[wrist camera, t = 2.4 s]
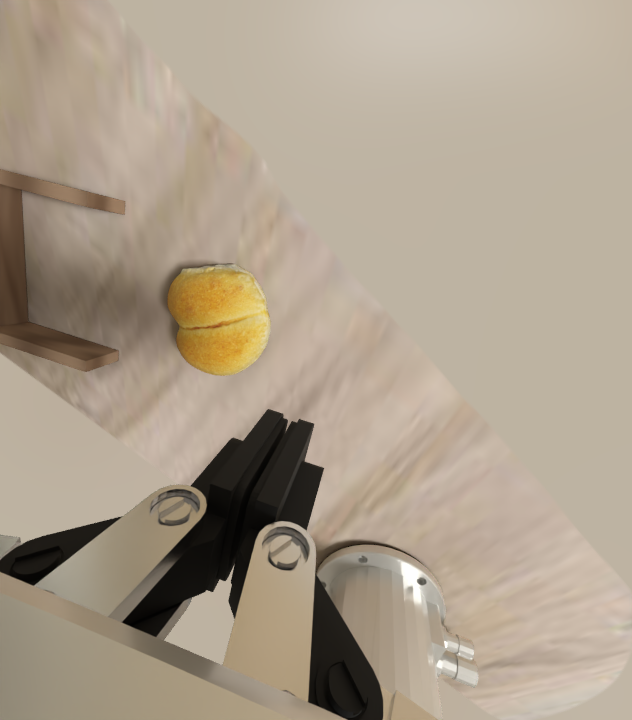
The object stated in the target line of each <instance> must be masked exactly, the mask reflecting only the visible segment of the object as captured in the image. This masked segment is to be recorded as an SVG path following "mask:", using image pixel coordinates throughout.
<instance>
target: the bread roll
mask: <svg viewBox="0 0 632 720" xmlns="http://www.w3.org/2000/svg"><path fill="white" fill-rule="evenodd" d="M168 308H169V310H170V312H171V314H172V316H173V317H174V319H175V320H176V321H177V323H178V324H179V326H180V327H179V331H178V334H177V338H176V342H177V347H178V349H179V351H180V353H181V355H182V356H183V357H184V359H185V360H186V361H187V362H188V363H189V364H190V365H192V366H193V367H195V368H197V369H199V370H201V371H203V372H206V373H209V374H213V375H220V376H225V375H234V374H236V373H239V372H241V371H243V370H244V369H246V368H247V367H249V366H250V365H251V364H253V363H254V362H255V361H256V360H257V359H258V358H259V356H260V355H261V354H262V352H263V350H264V349H265V347H266V345H267V342H268V339H269V334H270V329H271V328H270V326H271V321H270V317H269V313H268V311H267V301H266V297H265V295H264V292H263V290H262V288H261V286H260V285H259V283H258V282H257V280H256V279H255V278H254V276H253V275H252V274H251V273H250V272H248V271H246V270H245V269H243V268H241V267H238V266H237V265H235V264H232V265H231V264H228V265H214V266H209V265H207V266H203V267H200V268H189V269H182V271H181V273H180V274H179V275H178V276H177V277H176V278H175V280H174V281H173V282H172V284H171V286H170V289H169V292H168Z"/></svg>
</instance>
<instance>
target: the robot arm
mask: <svg viewBox="0 0 632 720" xmlns="http://www.w3.org/2000/svg"><path fill="white" fill-rule="evenodd" d="M287 423H288V420H287V419H284V418H283V414H282V413H279V412H276V411H273V410H269V409H268V410H267V411H266V412H265V414H264V415H263V416H262V417H261V419H260V420H259V421H258V423H257V424H256V425H255V426H254V428H253V429H252V430H251V432H250V433H249V434H248V435H247V437H246V438H245V439H244V441H241V440H238V439H236V438H232V439H231V440H229V442H228V443H227V444H226V445H225V446H224V447H223V449H222V450H221V451H220V452H219V453H218V454H217V456H216V457H215V458H214V459H213V460H212V462H211V463H210V464H209V465H208V466H207V467H206V469H205V470H204V471H203V472H202V473H201V474H200V476H199V477H198V478H197V479H196V480H195V481H194V483H193V484H192V485H191V486H188V485H170V486H167V487H164V488H161V489H159V490H157V491H156V492H154V493H152V494H151V495H150V496H149V497H147V498H146V499H144V500H143V501H142V502H141V503H140V504H138V505H137V506H136V507H134V508H133V509H132V510H130V511H129V512H128V513H127V514H125V515H124V516H122V517H118V518H114V519H110V520H106V521H102V522H98V523H94V524H90V525H86V526H82V527H78V528H74V529H70V530H66V531H62V532H58V533H54V534H50V535H46V536H42V537H39V538H36V539H33V540H30V541H27V542H25V543H21V541H20V537H13V536H4V535H0V720H443V716H442V708H441V701H440V693H439V686H438V678H437V677H439V676H440V674H443V675H446V676H448V677H451V678H452V679H453V680H456V681H458V682H461V683H463V684H466V685H468V686H471V687H473V688H475V686H476V685H477V682H478V668H477V664H476V662H475V661H474V660H473V656H474V645H473V642H472V641H471V640H469V639H466V638H464V637H461V636H458V635H453V634H451V633H448V632H447V630H446V628H445V627H443V625H444V622H445V619H446V607H445V602H444V596H443V593H442V590H441V587H440V585H439V583H438V582H437V580H436V579H435V577H434V575H433V574H432V573H431V572H430V571H429V570H428V569H427V568H426V567H425V566H424V565H422V564H421V563H420V562H418V561H417V560H416V559H414V558H412V557H410V556H409V555H407V554H405V553H403V552H400V551H397V550H395V549H392V548H388V547H383V546H378V545H356V546H350V547H347V548H343V549H340V550H338V551H336V552H334V553H332V554H331V555H330V556H329V557H327V558H326V559H325V560H324V561H323V562H322V564H321V565H320V566H319V568H318V570H317V573H315V567H316V547H315V543H314V541H313V539H312V537H311V536H310V535H309V533H308V532H307V531H306V530H307V527H308V523H309V520H310V516H311V513H312V509H313V506H314V502H315V498H316V495H317V491H318V488H319V484H320V481H321V477H322V474H323V470H324V468H322V467H319V466H316V465H313V464H310V463H307V462H304V461H305V457H306V453H307V450H308V446H309V442H310V439H311V435H312V431H313V428H314V424H313V423H310V422H307V421H304V420H301V419H299V420H298V422H297V423H296V422H293V421H292V422H291V424H290V426H289V427H288V429H287V431H286V427H287ZM285 431H286V433H285ZM234 564H235V565H234ZM233 566H234V570H233V575H232V579H231V584H232V587H231V592H230V596H229V604H230V607H231V610H232V613H233V615H234V619H235V620H234V625H233V628H232V632H231V636H230V639H229V643H228V647H227V651H226V654H225V658H224V662H223V665H220V664H218V663H215V662H213V661H211V660H209V659H206V658H204V657H201V656H199V655H196V654H194V653H192V652H190V651H187V650H185V649H183V648H180V647H177V646H175V645H173V644H170V643H168V642H166V641H164V639H165V638H166V636H167V635H168V634H169V632H170V631H171V630H172V628H173V627H174V626H175V624H176V623H177V622H178V620H179V619H180V618H181V616H182V615H183V613H184V612H185V611H186V609H187V607H188V606H189V604H190V602H191V599H192V597H194V596H197V595H199V594H201V593H204V592H205V591H206V590H208V591H211V592H213V591H214V589H215V587H216V585H217V583H218V581H219V579H221V580H223V581H226V580H227V578H228V576H229V574H230V572H231V570H232V568H233Z"/></svg>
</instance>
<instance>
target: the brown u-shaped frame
mask: <svg viewBox="0 0 632 720" xmlns="http://www.w3.org/2000/svg"><path fill="white" fill-rule="evenodd" d="M21 190H25V191H28V192H32V193H36V194H40V195H44V196H47V197H51V198H55V199H59V200H63V201H66V202H70V203H74V204H78V205H82V206H85V207H90V208H95V209H100V210H104V211H109V212H114V213H119V214H124V215H125V201H122V200H118V199H114V198H110V197H106V196H102V195H98V194H94V193H90V192H87V191H83V190H79V189H75V188H71V187H67V186H63V185H59V184H56V183H52V182H48V181H44V180H40V179H36V178H32V177H28V176H24V175H21V174H17V173H13V172H9V171H5V170H1V169H0V344H3V345H6V346H9V347H12V348H15V349H18V350H21V351H24V352H27V353H30V354H33V355H36V356H39V357H42V358H45V359H48V360H51V361H54V362H57V363H60V364H63V365H66V366H69V367H72V368H75V369H78V370H81V371H84V372H87V371H90V370H93V369H96V368H99V367H102V366H104V365H107V364H110V363H113V362H116V361H118V356H119V351H118V350H115V349H112V348H108V347H105V346H102V345H99V344H96V343H93V342H90V341H87V340H83V339H80V338H77V337H74V336H71V335H68V334H65V333H62V332H58V331H55V330H52V329H49V328H46V327H43V326H40V325H37V324H33V323H30V322H28V307H27V288H26V269H25V250H24V231H23V211H22V192H21Z"/></svg>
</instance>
